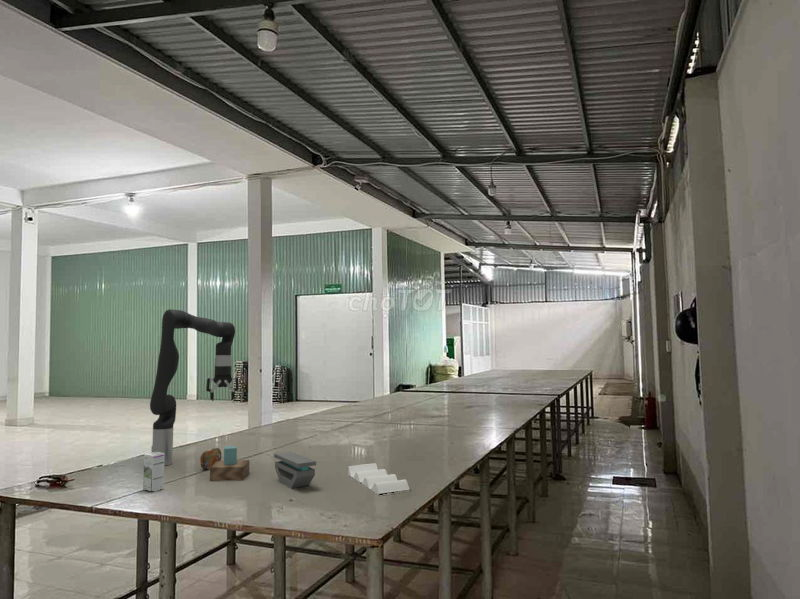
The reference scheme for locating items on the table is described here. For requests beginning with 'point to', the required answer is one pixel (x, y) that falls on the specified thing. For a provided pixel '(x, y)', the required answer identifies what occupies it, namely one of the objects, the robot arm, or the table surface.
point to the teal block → (230, 455)
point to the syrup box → (153, 471)
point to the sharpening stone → (294, 469)
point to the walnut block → (229, 471)
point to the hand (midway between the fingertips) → (222, 400)
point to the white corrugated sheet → (377, 479)
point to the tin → (210, 458)
